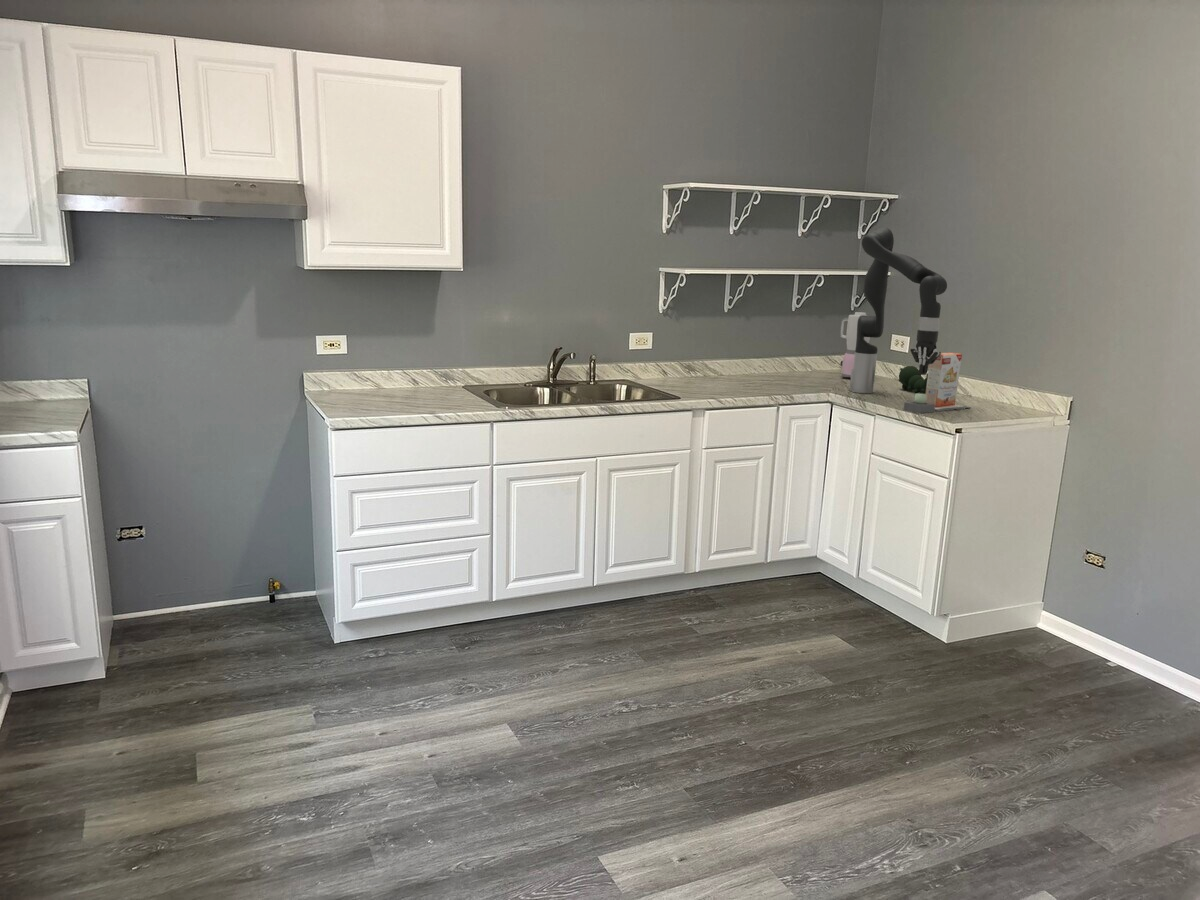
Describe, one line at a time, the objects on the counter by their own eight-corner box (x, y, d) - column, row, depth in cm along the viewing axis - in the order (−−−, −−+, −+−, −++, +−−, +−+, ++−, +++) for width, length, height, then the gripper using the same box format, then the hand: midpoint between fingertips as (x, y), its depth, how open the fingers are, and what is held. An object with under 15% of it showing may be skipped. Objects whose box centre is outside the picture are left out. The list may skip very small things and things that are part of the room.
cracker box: (936, 407, 340) (943, 354, 336) (923, 405, 345) (929, 353, 340) (956, 405, 349) (962, 353, 344) (942, 402, 354) (949, 351, 349)
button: (911, 403, 336) (912, 393, 336) (918, 403, 339) (919, 393, 338) (920, 405, 333) (921, 395, 332) (927, 405, 335) (928, 394, 334)
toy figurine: (940, 400, 377) (906, 386, 400) (948, 357, 371) (913, 345, 394) (921, 400, 374) (888, 386, 397) (929, 357, 368) (895, 345, 391)
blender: (871, 379, 424) (878, 313, 417) (861, 381, 415) (868, 314, 408) (840, 375, 434) (847, 311, 426) (830, 377, 424) (836, 311, 417)
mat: (908, 405, 348) (908, 403, 348) (941, 402, 358) (941, 401, 358) (937, 411, 336) (937, 409, 336) (970, 408, 346) (970, 406, 346)
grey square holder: (903, 409, 338) (904, 402, 337) (917, 408, 342) (918, 401, 341) (920, 413, 331) (921, 405, 330) (934, 411, 335) (935, 404, 334)
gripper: (949, 330, 326) (943, 376, 329) (920, 327, 337) (915, 372, 341) (936, 331, 322) (930, 377, 326) (907, 327, 333) (902, 372, 337)
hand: (922, 374), depth 333 cm, fingers closed
